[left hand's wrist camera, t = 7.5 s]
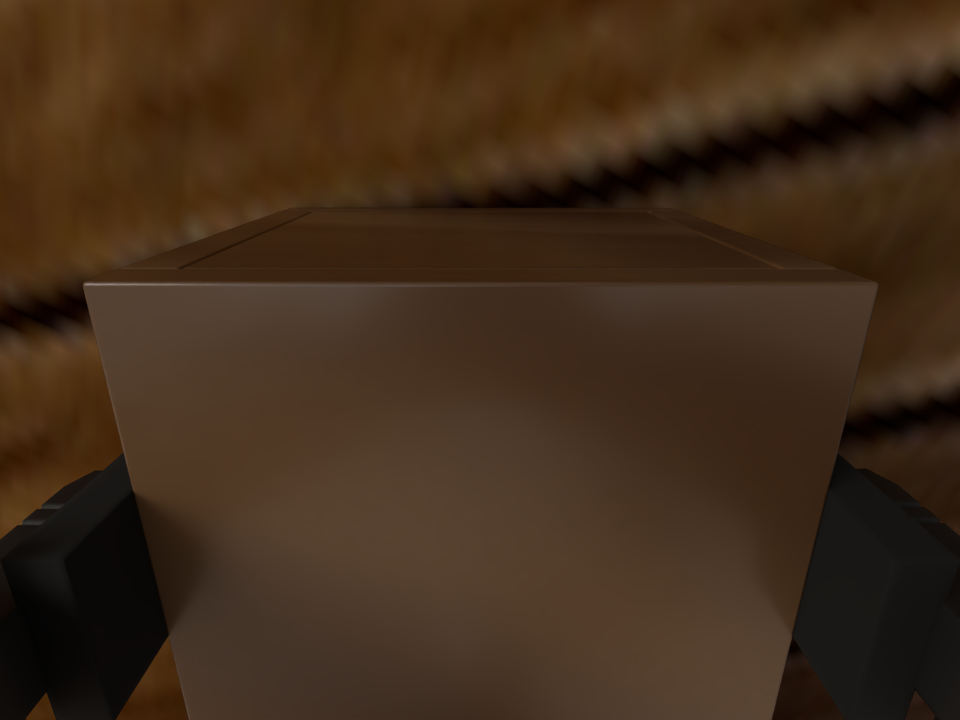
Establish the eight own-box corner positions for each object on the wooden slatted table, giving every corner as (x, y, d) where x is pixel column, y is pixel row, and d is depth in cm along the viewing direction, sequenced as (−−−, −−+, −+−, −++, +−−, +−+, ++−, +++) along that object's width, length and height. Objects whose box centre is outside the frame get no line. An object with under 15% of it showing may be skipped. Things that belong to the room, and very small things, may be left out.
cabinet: (610, 756, 22) (680, 1093, 14) (350, 755, 22) (279, 1092, 14) (672, 207, 15) (882, 282, 7) (288, 207, 15) (79, 281, 7)
